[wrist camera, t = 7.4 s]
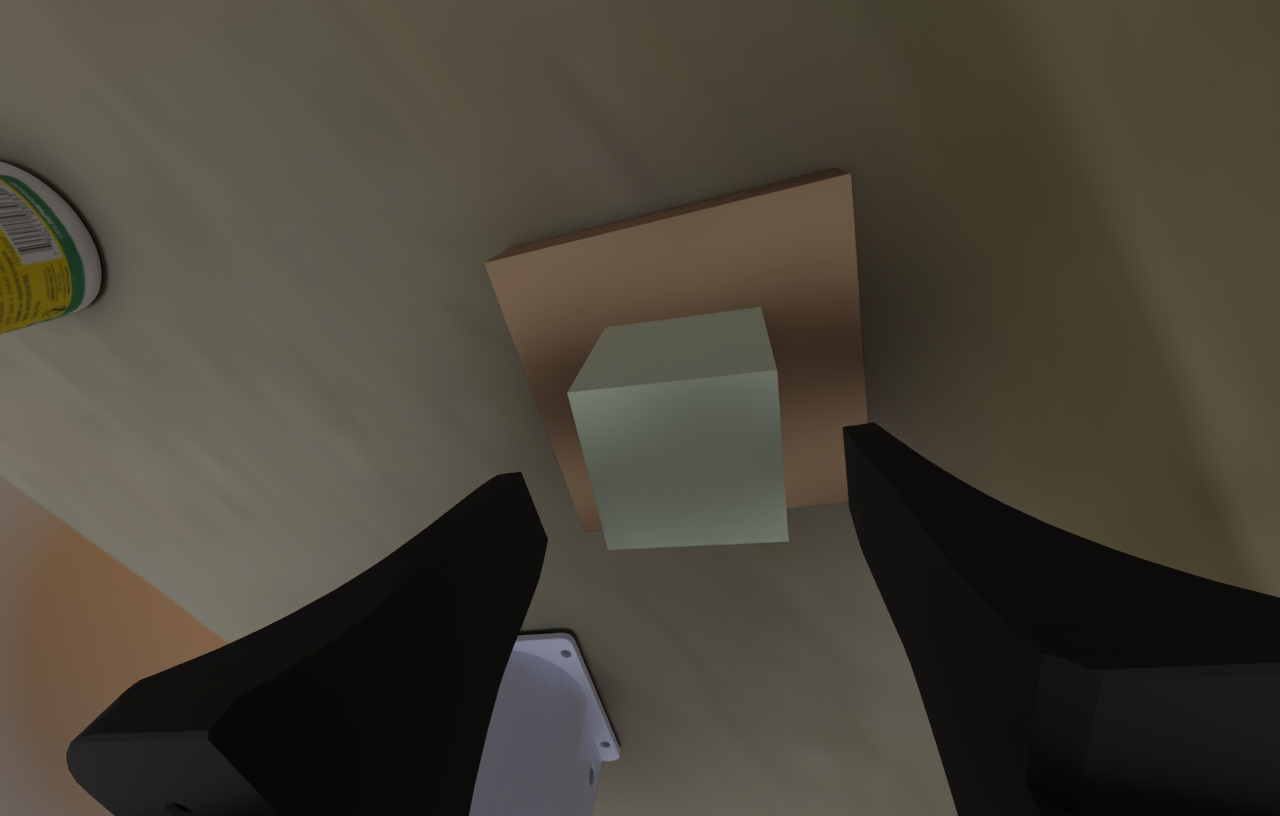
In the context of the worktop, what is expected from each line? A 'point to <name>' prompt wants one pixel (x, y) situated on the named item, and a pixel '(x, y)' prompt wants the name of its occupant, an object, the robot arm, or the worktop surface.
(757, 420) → the sage block
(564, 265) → the brown square pad
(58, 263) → the supplement bottle
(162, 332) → the worktop surface
